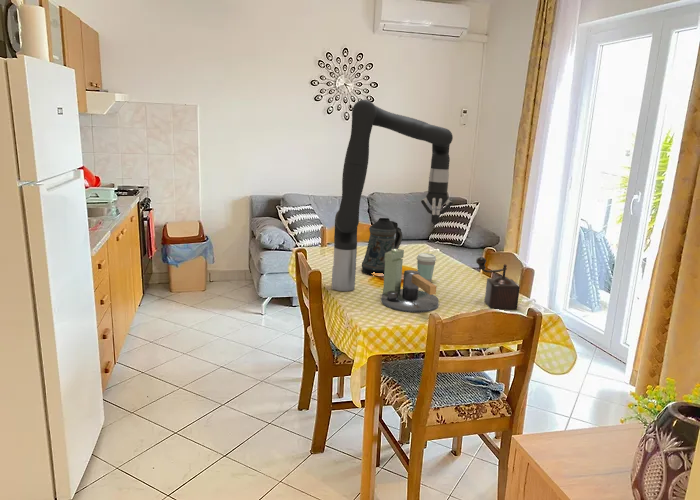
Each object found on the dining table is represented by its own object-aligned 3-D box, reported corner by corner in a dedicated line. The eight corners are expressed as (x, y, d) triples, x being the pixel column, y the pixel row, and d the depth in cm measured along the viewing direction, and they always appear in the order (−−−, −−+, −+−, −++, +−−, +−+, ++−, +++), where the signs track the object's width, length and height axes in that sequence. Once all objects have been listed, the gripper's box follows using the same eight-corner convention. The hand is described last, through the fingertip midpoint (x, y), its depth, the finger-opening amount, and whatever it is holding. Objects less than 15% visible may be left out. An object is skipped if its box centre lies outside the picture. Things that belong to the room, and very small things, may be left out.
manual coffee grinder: (509, 300, 215) (514, 257, 211) (517, 310, 204) (523, 264, 200) (470, 299, 215) (475, 255, 210) (477, 308, 204) (482, 262, 200)
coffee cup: (433, 285, 231) (436, 258, 228) (414, 282, 232) (416, 256, 230) (434, 279, 239) (437, 253, 236) (415, 277, 241) (417, 251, 238)
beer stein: (355, 273, 243) (358, 219, 237) (371, 264, 260) (374, 213, 254) (389, 279, 236) (393, 223, 230) (403, 269, 253) (407, 217, 248)
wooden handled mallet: (399, 295, 208) (401, 270, 205) (413, 294, 209) (415, 269, 207) (423, 313, 188) (425, 286, 186) (438, 312, 190) (441, 286, 188)
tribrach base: (370, 303, 203) (373, 253, 198) (397, 290, 221) (400, 243, 216) (423, 317, 192) (428, 263, 187) (447, 301, 210) (451, 252, 205)
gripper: (421, 180, 205) (418, 224, 209) (456, 182, 204) (452, 226, 208) (421, 178, 213) (417, 221, 217) (454, 180, 212) (450, 223, 216)
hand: (434, 224), depth 212 cm, fingers closed
